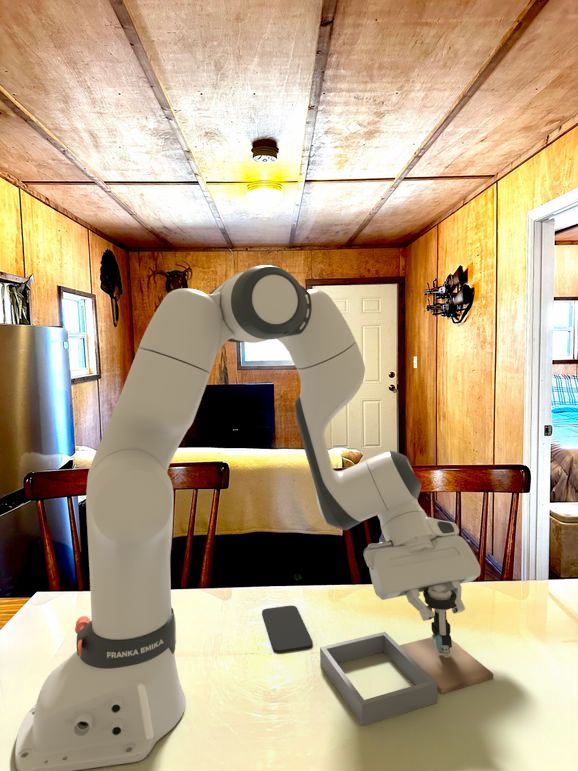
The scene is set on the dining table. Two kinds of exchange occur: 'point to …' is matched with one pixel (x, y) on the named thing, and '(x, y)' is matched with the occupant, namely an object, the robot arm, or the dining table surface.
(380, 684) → the dining table surface
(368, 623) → the dining table surface
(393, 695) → the gray rectangular frame
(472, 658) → the walnut board
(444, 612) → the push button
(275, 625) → the phone
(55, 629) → the dining table surface
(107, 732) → the robot arm
